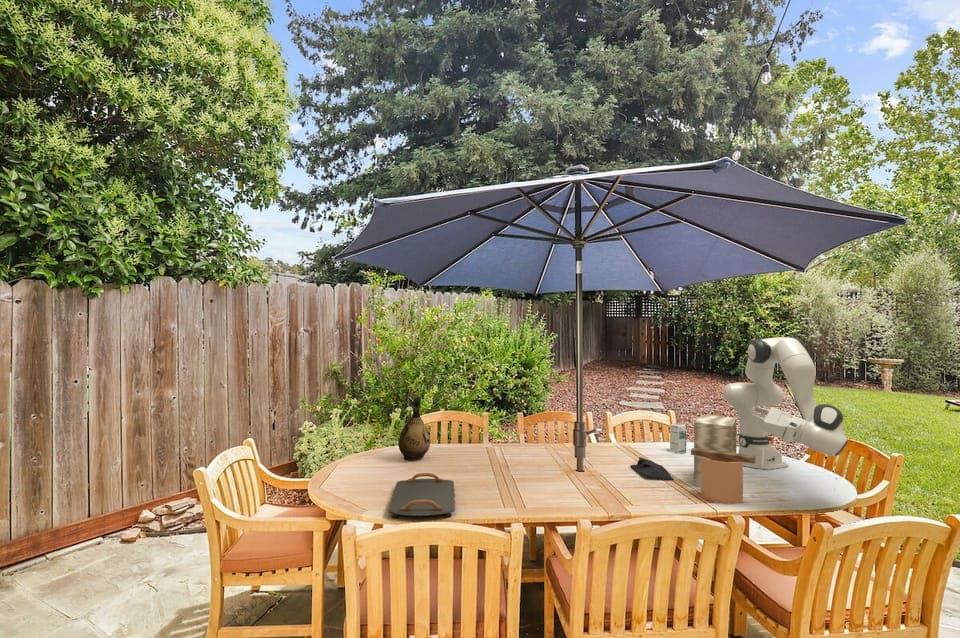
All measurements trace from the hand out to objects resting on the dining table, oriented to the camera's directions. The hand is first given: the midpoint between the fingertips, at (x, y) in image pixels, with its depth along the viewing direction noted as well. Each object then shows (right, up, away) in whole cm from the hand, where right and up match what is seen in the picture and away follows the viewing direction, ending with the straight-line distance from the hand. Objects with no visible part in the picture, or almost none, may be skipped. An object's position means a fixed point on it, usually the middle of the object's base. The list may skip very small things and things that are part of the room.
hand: (753, 411), depth 190 cm
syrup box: (-2, -34, +68) cm, 76 cm away
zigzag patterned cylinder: (-5, -33, +19) cm, 39 cm away
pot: (-12, -33, 0) cm, 35 cm away
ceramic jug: (-137, -33, +51) cm, 150 cm away
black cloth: (-28, -34, +31) cm, 54 cm away
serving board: (-126, -32, -7) cm, 130 cm away
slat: (-12, -18, 0) cm, 21 cm away
